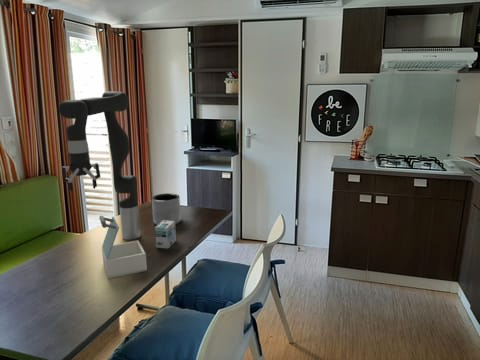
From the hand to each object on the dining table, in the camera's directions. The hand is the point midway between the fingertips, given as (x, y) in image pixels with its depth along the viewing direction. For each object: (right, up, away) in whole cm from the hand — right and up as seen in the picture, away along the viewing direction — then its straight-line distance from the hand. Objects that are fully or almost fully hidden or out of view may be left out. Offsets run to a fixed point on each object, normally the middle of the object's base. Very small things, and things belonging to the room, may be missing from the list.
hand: (83, 189), depth 151 cm
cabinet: (+14, -34, +9) cm, 38 cm away
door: (+10, -20, +4) cm, 23 cm away
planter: (+22, -21, +64) cm, 71 cm away
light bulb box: (+28, -29, +33) cm, 52 cm away
